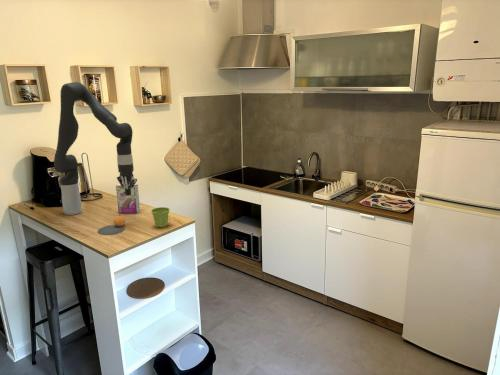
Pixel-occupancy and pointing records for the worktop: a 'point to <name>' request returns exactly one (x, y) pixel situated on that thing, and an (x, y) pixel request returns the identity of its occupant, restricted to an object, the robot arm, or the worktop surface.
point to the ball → (119, 221)
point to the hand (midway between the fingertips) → (128, 195)
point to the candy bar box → (128, 200)
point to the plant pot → (160, 216)
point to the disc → (111, 230)
